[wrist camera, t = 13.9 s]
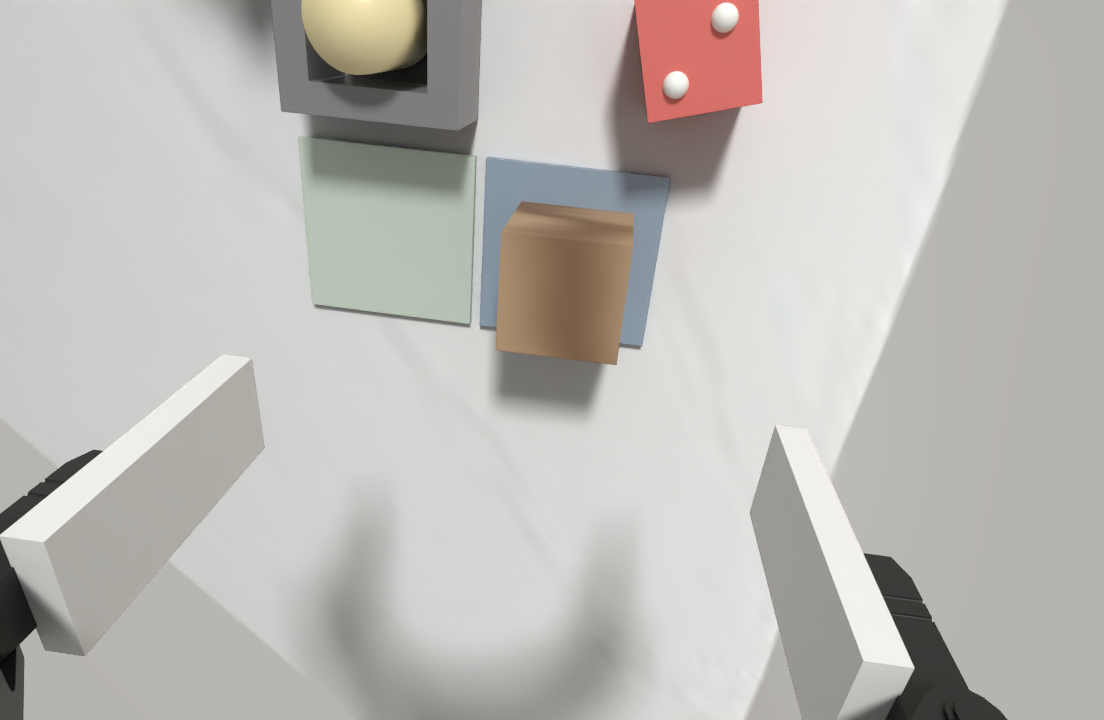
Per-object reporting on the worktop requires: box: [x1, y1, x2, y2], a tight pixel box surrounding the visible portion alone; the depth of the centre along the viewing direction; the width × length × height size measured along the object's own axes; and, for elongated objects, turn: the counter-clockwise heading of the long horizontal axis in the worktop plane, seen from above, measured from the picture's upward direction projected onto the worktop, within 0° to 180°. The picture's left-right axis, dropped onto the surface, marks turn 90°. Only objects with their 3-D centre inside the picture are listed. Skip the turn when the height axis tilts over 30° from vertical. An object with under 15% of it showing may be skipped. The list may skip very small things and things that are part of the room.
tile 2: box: [480, 157, 670, 346], centre depth 30 cm, size 8×8×1 cm
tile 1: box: [298, 136, 477, 324], centre depth 31 cm, size 8×8×1 cm
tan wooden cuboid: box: [496, 201, 634, 365], centre depth 28 cm, size 5×5×5 cm
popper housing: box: [271, 0, 482, 131], centre depth 25 cm, size 7×7×4 cm
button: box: [301, 0, 427, 75], centre depth 24 cm, size 4×4×4 cm
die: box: [634, 0, 762, 123], centre depth 24 cm, size 4×4×4 cm
